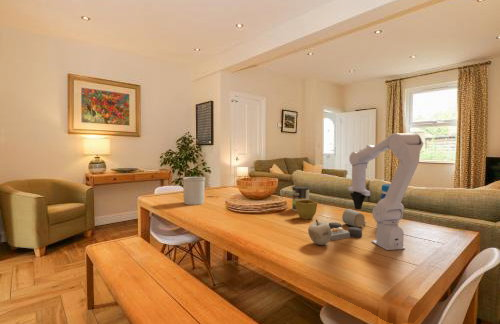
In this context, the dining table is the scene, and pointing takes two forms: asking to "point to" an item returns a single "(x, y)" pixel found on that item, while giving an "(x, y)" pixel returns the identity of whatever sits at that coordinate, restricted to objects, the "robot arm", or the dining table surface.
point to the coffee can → (299, 195)
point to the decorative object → (320, 232)
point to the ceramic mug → (353, 218)
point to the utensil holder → (193, 190)
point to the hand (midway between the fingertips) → (358, 209)
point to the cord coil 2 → (355, 232)
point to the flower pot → (306, 208)
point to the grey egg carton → (339, 233)
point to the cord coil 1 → (334, 225)
